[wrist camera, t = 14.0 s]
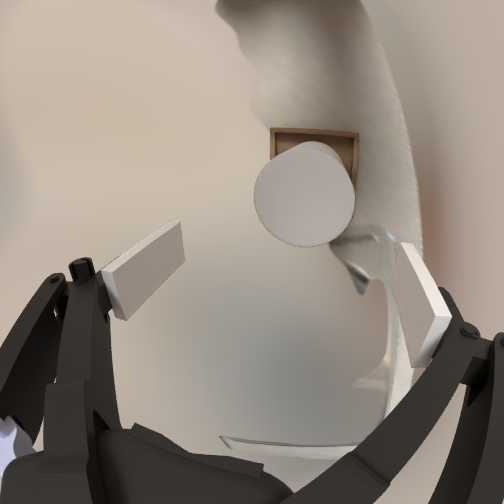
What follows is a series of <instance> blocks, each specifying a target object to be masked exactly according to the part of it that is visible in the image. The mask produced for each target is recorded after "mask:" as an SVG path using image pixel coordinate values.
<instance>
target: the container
mask: <svg viewBox="0 0 504 504" xmlns="http://www.w3.org/2000/svg"><path fill="white" fill-rule="evenodd" d="M254 204H255V209H256V212H257V214H258V217H259V219H260V221H261V222H262V224H263V225H264V227H265V228H266V229H267V230H268V231H269V232H270V233H271V234H272V235H273V236H275V237H276V238H277V239H279V240H281V241H283V242H285V243H287V244H290V245H293V246H298V247H315V246H320V245H323V244H325V243H328V242H330V241H332V240H333V239H335V238H336V237H337V236H339V235H340V234H341V233H342V232H343V231H344V229H345V228H346V227H347V225H348V224H349V222H350V220H351V218H352V215H353V211H354V206H355V194H354V189H353V185H352V182H351V180H350V178H349V175H348V173H347V171H346V169H345V167H344V165H343V163H342V161H341V159H340V157H339V155H338V154H337V153H336V151H335V150H334V149H332V148H331V147H330V146H328V145H326V144H324V143H321V142H316V141H308V142H304V143H301V144H299V145H297V146H295V147H293V148H291V149H289V150H287V151H285V152H283V153H281V154H279V155H277V156H276V157H274V158H273V159H271V160H270V161H269V162H268V163H267V164H266V165H265V166H264V168H263V169H262V170H261V172H260V174H259V176H258V178H257V180H256V184H255V188H254Z"/></svg>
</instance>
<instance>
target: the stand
mask: <svg viewBox="0 0 504 504" xmlns="http://www.w3.org/2000/svg"><path fill="white" fill-rule="evenodd" d="M308 141H316V142H321V143H324V144H326V145H328V146H330V147H331V148H332V149H334V150H335V151H336V153H337V154H338V155H339V157H340V159H341V161H342V163H343V165H344V167H345V169H346V171H347V173H348V175H349V178H350V180H351V182H352V185H353V189H354V194H355V188H356V176H357V162H358V143H359V133H352V132H342V131H331V130H318V129H300V128H270V160H271V159H273V158H274V157H276V156H277V155H279V154H281V153H283V152H285V151H287V150H289V149H291V148H293V147H295V146H297V145H299V144H301V143H304V142H308ZM352 217H353V215H352Z"/></svg>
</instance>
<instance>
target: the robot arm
mask: <svg viewBox="0 0 504 504" xmlns="http://www.w3.org/2000/svg"><path fill="white" fill-rule="evenodd" d="M184 261H185V257H184V249H183V241H182V232H181V223H180V222H178V221H169V222H168V223H166V224H165V225H163V226H162V227H160V228H159V229H157V230H156V231H154V232H153V233H152V234H150V235H149V236H147V237H146V238H144V239H143V240H142V241H140V242H139V243H137V244H136V245H134V246H133V247H131V248H130V249H129V250H127V251H126V252H124V253H123V254H122V255H120V256H118V257H117V258H116V259H114V260H113V261H112V262H110V263H109V264H108V265H106V266H105V267H103V268H102V269H101V270H99V271H98V272H97V273H95V270H94V266H93V263H92V259H91V258H87V257H84V258H80V259H77V260H75V261H73V262H72V263H70V264H69V270H70V273H71V276H72V279H73V281H72V282H66V279H65V276H64V274H63V273H54V274H52V275H50V276H49V277H47V278H46V279H45V281H44V282H43V283H42V285H41V286H40V287H39V289H38V290H37V291H36V293H35V294H34V296H33V297H32V298H31V300H30V301H29V303H28V304H27V306H26V307H25V309H24V310H23V312H22V313H21V315H20V316H19V318H18V319H17V321H16V323H15V324H14V326H13V327H12V329H11V331H10V332H9V334H8V336H7V337H6V339H5V341H4V342H3V344H2V346H1V348H0V477H1V478H2V484H1V492H0V504H373V503H374V502H375V501H376V500H377V499H378V498H379V497H380V496H381V495H382V494H383V493H384V492H385V490H386V489H387V488H388V487H389V486H390V482H391V481H392V480H393V478H394V477H395V476H396V475H397V474H398V473H399V471H400V470H401V469H402V468H403V467H404V466H405V464H406V463H407V462H408V461H409V460H410V458H411V457H412V456H413V455H414V453H415V452H416V451H417V449H418V448H419V446H420V445H421V444H422V443H423V441H424V440H425V438H426V437H427V436H428V434H429V433H430V431H431V430H432V428H433V427H434V425H435V424H436V422H437V421H438V419H439V418H440V416H441V415H442V413H443V411H444V410H445V408H446V407H447V405H448V403H449V401H450V400H451V398H452V396H453V394H454V393H455V391H456V389H457V387H458V385H459V383H462V384H465V385H467V386H466V392H465V397H464V402H463V406H462V410H461V415H460V418H459V422H458V426H457V430H456V433H455V437H454V440H453V443H452V446H451V449H450V452H449V455H448V458H447V461H446V464H445V466H444V469H443V472H442V474H441V476H440V479H439V481H438V483H437V486H436V488H435V491H434V493H433V495H432V497H431V499H430V501H429V503H428V504H502V502H503V499H504V333H503V332H500V333H497V335H495V337H494V339H493V341H491V340H487V339H483V338H481V337H480V333H479V331H478V329H477V328H476V327H475V326H473V325H472V324H470V323H467V322H464V320H463V318H462V316H461V314H460V312H459V310H458V308H457V307H456V304H455V302H454V301H453V299H452V297H451V295H450V294H449V292H447V291H446V290H445V289H444V288H443V287H437V286H436V284H435V282H434V280H433V279H432V277H431V275H430V273H429V271H428V269H427V268H426V266H425V264H424V262H423V261H422V259H421V257H420V256H419V254H418V252H417V251H416V249H415V247H414V246H413V244H410V243H402V242H400V246H399V250H398V255H397V259H396V264H395V268H394V272H393V276H392V280H391V284H390V285H391V289H392V292H393V295H394V299H395V302H396V306H397V309H398V313H399V317H400V321H401V325H402V329H403V333H404V337H405V341H406V346H407V350H408V355H409V359H410V364H411V368H426V370H425V371H424V372H423V374H422V375H421V376H420V378H419V379H418V381H417V382H416V383H415V384H414V386H413V387H412V388H411V389H410V390H409V392H408V393H407V394H406V395H405V397H404V398H403V399H402V400H401V401H400V402H399V404H398V405H397V406H396V407H395V408H394V409H393V411H392V412H391V413H390V414H389V415H388V416H387V417H386V418H385V419H384V420H383V421H382V422H381V424H380V425H379V426H378V427H377V428H376V429H375V430H374V431H373V432H372V433H371V434H370V435H369V436H368V437H367V438H366V439H365V440H364V441H363V442H361V443H360V444H359V445H358V446H357V447H356V448H355V449H354V450H353V451H351V452H348V453H347V454H346V455H344V456H343V457H342V458H341V459H339V460H338V461H337V462H336V463H335V464H333V465H332V466H331V467H330V468H328V469H327V470H326V471H325V472H323V473H322V474H321V475H319V476H318V477H317V478H315V479H314V480H313V481H311V482H310V483H309V484H308V485H306V486H305V487H303V488H302V489H300V490H299V491H297V492H296V493H293V492H292V490H291V489H290V488H289V487H288V486H287V485H286V484H285V483H283V482H282V481H281V480H279V479H278V478H276V477H274V476H273V475H271V474H269V473H266V472H264V471H263V467H264V464H261V463H256V462H251V461H247V460H242V459H238V458H234V457H230V456H217V455H204V454H194V453H189V452H188V451H186V450H184V449H183V448H181V447H180V446H178V445H177V444H175V443H174V442H172V441H171V440H169V439H168V438H167V437H165V436H164V435H162V434H160V433H158V432H155V431H153V430H150V429H148V428H146V427H143V426H141V425H139V424H137V423H134V425H133V426H132V428H131V429H122V426H121V424H120V420H119V413H118V407H117V400H116V393H115V384H114V375H113V364H112V351H111V332H110V317H109V314H108V312H109V311H110V310H111V309H113V312H114V315H115V317H116V318H119V319H122V320H125V321H127V320H128V319H129V318H130V317H131V316H132V315H133V314H134V313H135V312H136V311H137V310H138V308H139V307H140V306H141V305H142V304H143V303H144V302H145V301H146V300H147V299H148V298H149V297H150V296H151V295H152V294H153V293H154V292H155V291H156V290H157V289H158V288H159V287H160V286H161V285H162V284H163V283H164V282H165V280H167V279H168V277H170V276H171V274H172V273H173V272H174V271H175V270H176V269H177V268H178V267H179V266H180V265H181V264H182V263H183V262H184ZM54 310H55V312H56V314H57V315H56V317H55V314H54ZM431 359H433V360H432V361H431ZM430 361H431V363H430V364H429V362H430ZM428 364H429V366H428ZM427 366H428V367H427ZM55 378H56V383H54V381H55ZM43 417H44V427H43V428H44V429H43V430H44V431H43V444H44V450H43V451H39V452H36V451H35V450H34V449H33V448H32V446H33V445H34V443H35V441H36V438H37V436H38V433H39V431H40V427H41V424H42V421H43Z"/></svg>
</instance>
